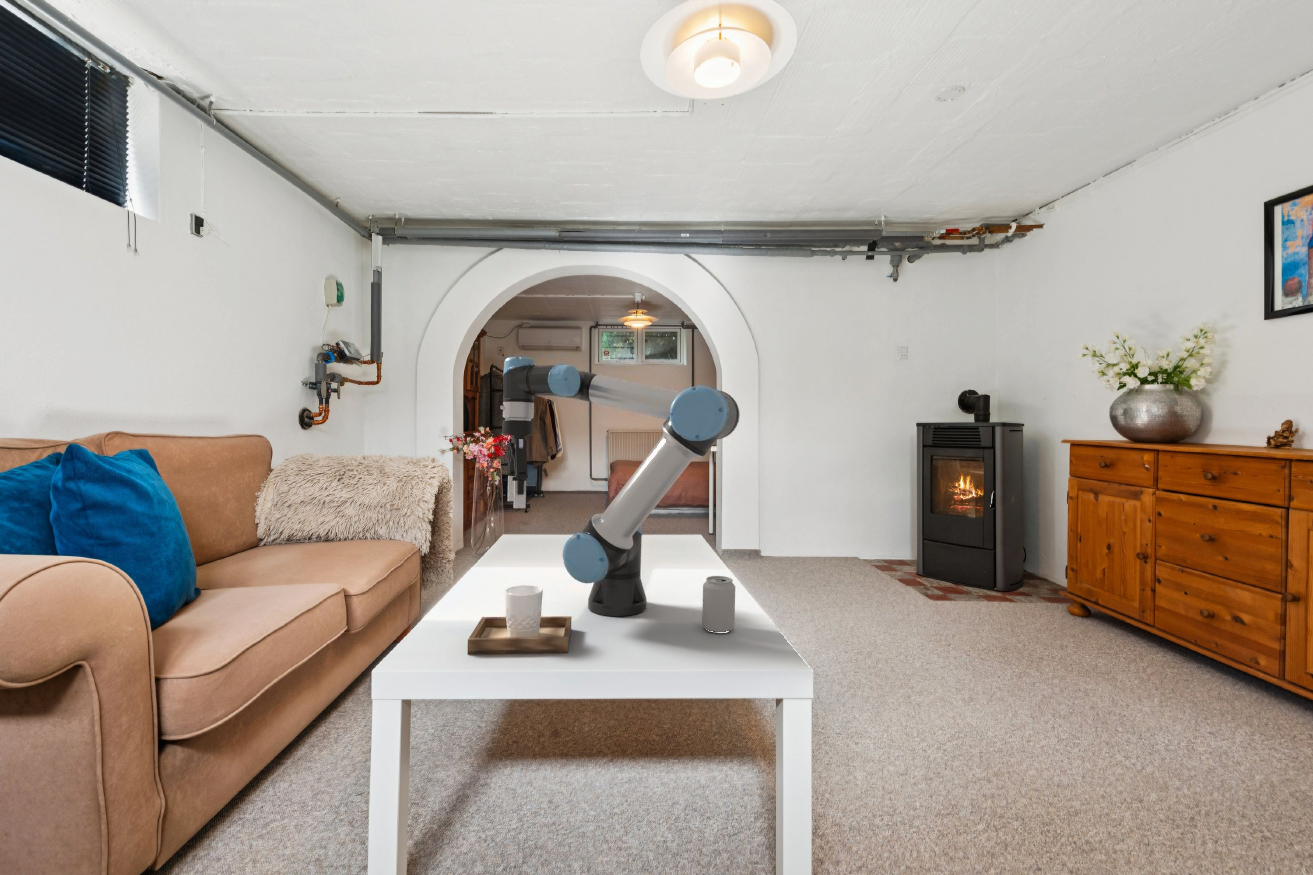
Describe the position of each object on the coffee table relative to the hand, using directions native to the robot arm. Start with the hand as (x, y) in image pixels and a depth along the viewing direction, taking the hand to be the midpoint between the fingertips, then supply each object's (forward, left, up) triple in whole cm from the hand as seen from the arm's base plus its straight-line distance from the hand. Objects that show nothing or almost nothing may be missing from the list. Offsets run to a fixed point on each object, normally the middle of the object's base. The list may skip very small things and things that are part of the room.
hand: (516, 504), depth 143 cm
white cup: (-5, +21, -26) cm, 34 cm away
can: (-49, +15, -27) cm, 58 cm away
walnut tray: (-5, +21, -27) cm, 34 cm away
